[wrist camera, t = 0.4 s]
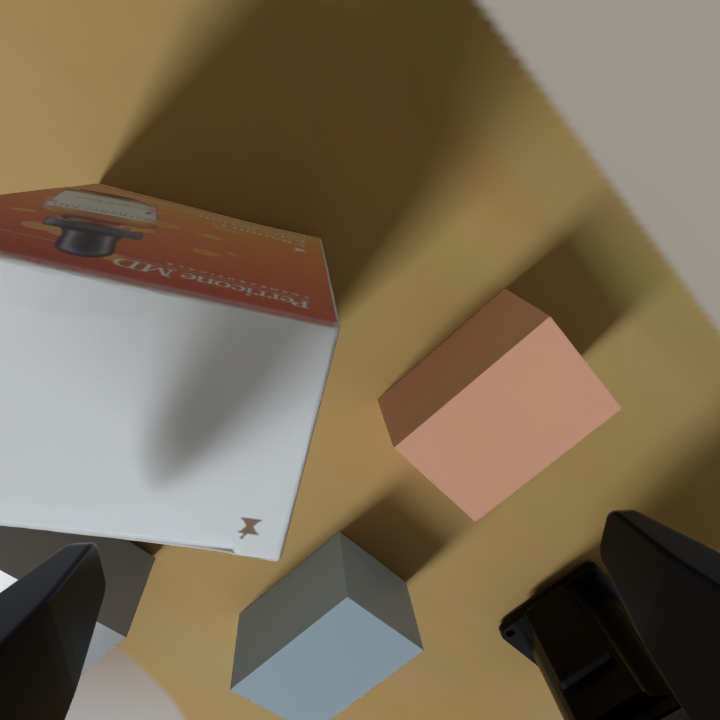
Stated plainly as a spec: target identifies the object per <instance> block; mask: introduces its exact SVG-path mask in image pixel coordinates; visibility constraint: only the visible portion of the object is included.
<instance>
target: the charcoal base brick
mask: <svg viewBox="0 0 720 720" xmlns="http://www.w3.org/2000/svg"><path fill="white" fill-rule="evenodd" d="M90 542H91V543H94V544H96V545H97V547H98V550H99V554H100V558H101V562H102V567H103V571H104V576H105V581H106V589H105V595H104V599H103V602H102V605H101V609H100V612H99V615H98V619H97V622H96V626H95V629H94V632H93V636H92V639H91V642H90V646H89V649H88V652H87V656H86V659H85V663H84V666H83V669H82V673H81V675H82V674H83V673H84V672H85V671H86V670H88V669H89V668H90V667H91V666H93V665H94V664H95V663H96V662H98V660H100V659H101V658H102V657H103V656H104V655H106V654H107V653H108V652H109V651H111V650H112V649H113V648H114V647H115V646H117V645H118V644H119V643H120V642H121V641H123V640H124V639H125V638H126V637H127V634H128V631H129V629H130V626H131V623H132V620H133V618H134V615H135V612H136V609H137V607H138V604H139V601H140V598H141V596H142V593H143V590H144V588H145V585H146V582H147V579H148V577H149V574H150V571H151V568H152V566H153V563H154V560H155V557H153V556H152V555H150V554H149V553H147V552H145V551H144V550H142V549H141V548H139V547H137V546H136V545H134V544H132V543H131V542H129V541H128V540H125V539H118V538H110V537H100V536H90V535H81V534H73V533H64V532H55V531H48V530H38V529H30V528H22V527H10V526H1V525H0V592H2V591H3V590H5V589H6V588H7V587H9V586H10V585H12V584H13V583H14V582H16V581H17V580H19V579H20V578H21V577H23V576H24V575H26V574H27V573H28V572H30V571H31V570H33V569H34V568H35V567H37V566H38V565H39V564H41V563H42V562H44V561H45V560H46V559H48V558H49V557H51V556H52V555H53V554H55V553H56V552H58V551H59V550H60V549H62V548H63V547H65V546H66V545H69V544H73V543H90Z"/></svg>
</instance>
